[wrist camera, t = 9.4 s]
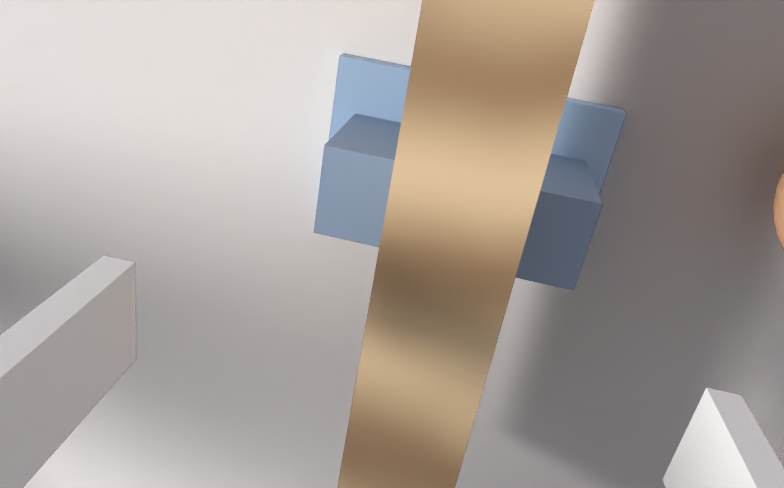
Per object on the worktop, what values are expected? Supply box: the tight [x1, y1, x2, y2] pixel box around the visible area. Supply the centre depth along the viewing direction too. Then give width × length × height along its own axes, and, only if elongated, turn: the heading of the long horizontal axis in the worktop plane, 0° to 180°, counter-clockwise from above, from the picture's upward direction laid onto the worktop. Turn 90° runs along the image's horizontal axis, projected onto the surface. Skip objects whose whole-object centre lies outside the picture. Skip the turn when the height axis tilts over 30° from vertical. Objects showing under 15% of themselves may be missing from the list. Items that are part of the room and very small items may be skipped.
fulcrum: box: [314, 54, 626, 290], centre depth 26 cm, size 12×8×6 cm, turn 80°
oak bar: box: [337, 0, 595, 488], centre depth 21 cm, size 24×4×5 cm, turn 170°
